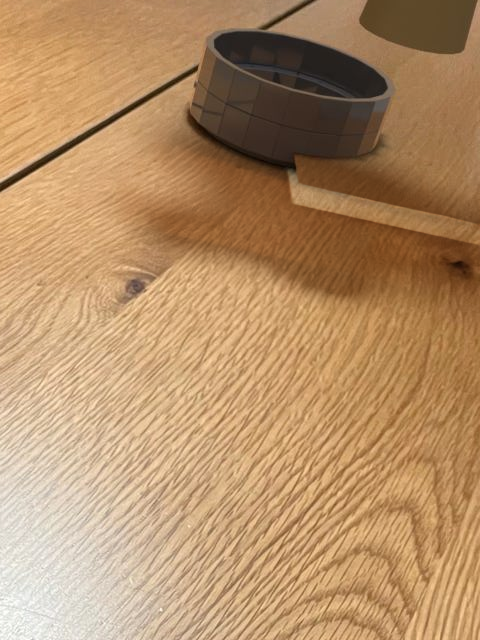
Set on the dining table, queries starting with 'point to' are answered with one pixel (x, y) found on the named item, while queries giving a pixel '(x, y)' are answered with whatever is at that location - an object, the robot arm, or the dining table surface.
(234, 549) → the dining table surface
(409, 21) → the olive brown pawn
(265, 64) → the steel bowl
